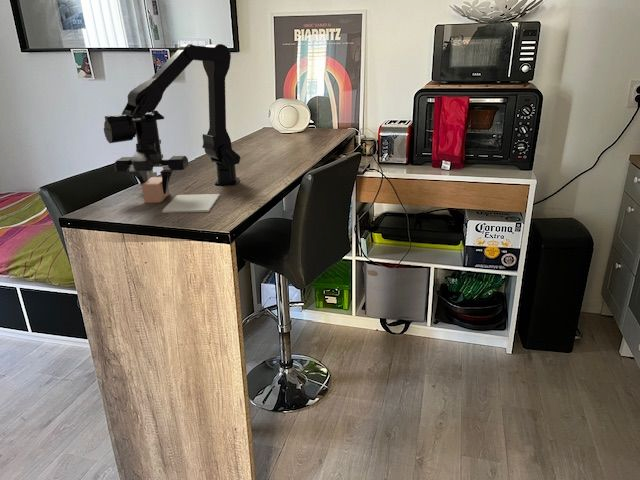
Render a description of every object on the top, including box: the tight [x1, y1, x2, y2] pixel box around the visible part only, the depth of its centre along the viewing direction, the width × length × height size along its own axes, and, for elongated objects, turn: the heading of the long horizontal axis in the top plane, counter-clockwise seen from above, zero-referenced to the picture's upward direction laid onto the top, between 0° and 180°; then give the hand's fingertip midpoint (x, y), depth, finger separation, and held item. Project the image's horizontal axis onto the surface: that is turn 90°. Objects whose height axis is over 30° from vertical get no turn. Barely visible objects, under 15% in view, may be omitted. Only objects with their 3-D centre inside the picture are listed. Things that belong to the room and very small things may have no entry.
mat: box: [161, 193, 221, 214], centre depth 135 cm, size 14×12×1 cm
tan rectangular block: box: [141, 176, 170, 203], centre depth 140 cm, size 8×4×5 cm, turn 179°
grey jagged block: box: [147, 168, 158, 179], centre depth 150 cm, size 7×2×8 cm, turn 161°
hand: (156, 193), depth 140 cm, fingers closed on tan rectangular block, 4 cm apart
